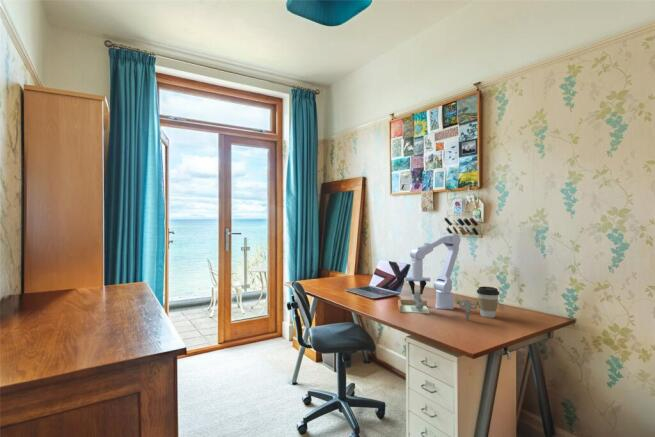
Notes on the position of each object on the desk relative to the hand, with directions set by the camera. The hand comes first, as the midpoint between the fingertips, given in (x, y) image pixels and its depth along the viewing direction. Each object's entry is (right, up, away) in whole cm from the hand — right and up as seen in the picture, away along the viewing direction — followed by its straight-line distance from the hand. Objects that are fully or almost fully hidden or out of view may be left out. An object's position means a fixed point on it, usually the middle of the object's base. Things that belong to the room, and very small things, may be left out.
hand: (417, 294), depth 195 cm
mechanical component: (+21, -10, -18) cm, 29 cm away
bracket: (0, -6, +1) cm, 6 cm away
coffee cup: (+36, -10, -10) cm, 38 cm away
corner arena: (-1, -9, +3) cm, 10 cm away
